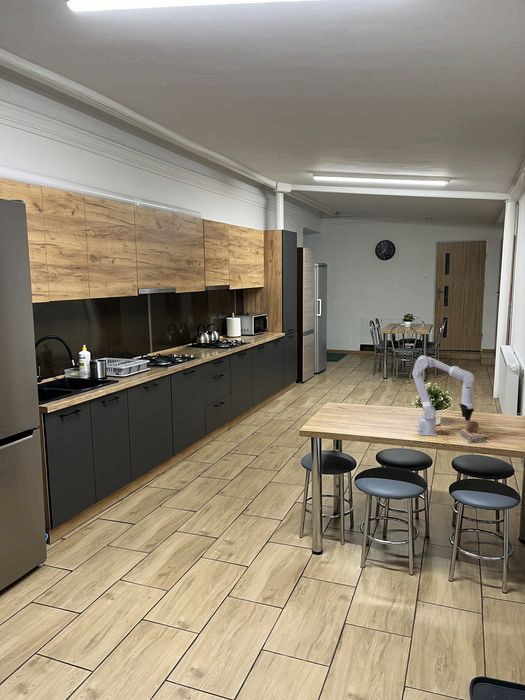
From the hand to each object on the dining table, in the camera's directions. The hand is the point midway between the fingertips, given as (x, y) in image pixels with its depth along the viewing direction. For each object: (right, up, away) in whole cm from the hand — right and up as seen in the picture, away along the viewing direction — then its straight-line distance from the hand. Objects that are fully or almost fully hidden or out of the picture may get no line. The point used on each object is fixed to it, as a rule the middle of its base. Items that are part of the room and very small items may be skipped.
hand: (466, 418), depth 299 cm
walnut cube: (+2, -7, -3) cm, 7 cm away
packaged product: (+2, -11, -1) cm, 12 cm away
